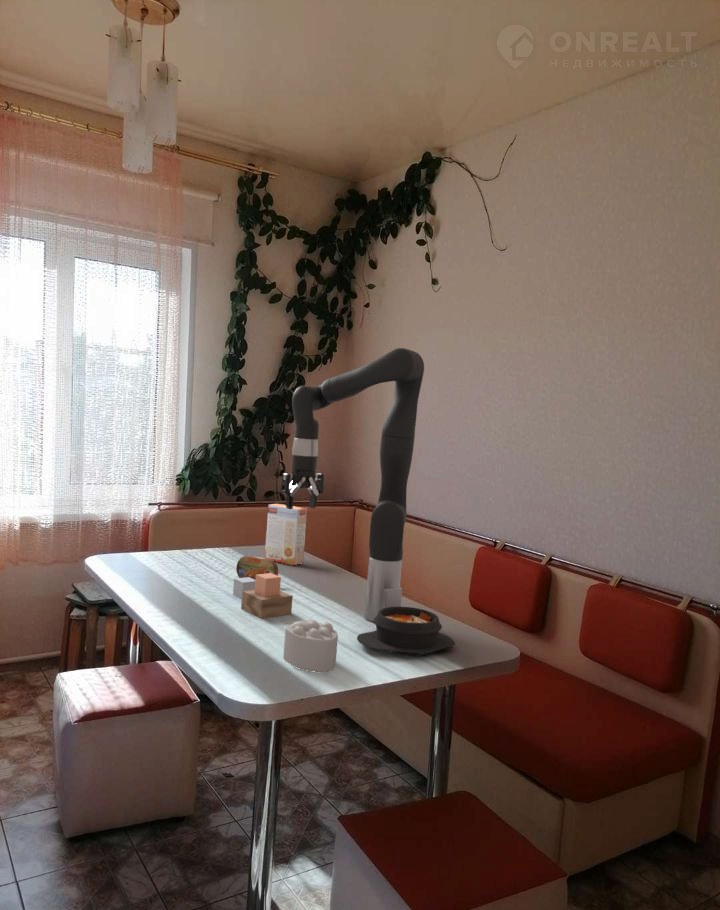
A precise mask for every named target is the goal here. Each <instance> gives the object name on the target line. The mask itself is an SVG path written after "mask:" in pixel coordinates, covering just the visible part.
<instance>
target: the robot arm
mask: <svg viewBox="0 0 720 910" xmlns="http://www.w3.org/2000/svg"><path fill="white" fill-rule="evenodd" d="M424 373H425V362H424V359H423V358H422V356H421V355H420V354H419V352H416V351H414V350H411V349H408V348H404V347H399V348H395V349H393V350H390V351H389V352H387V353H386V354H384V355H381V356H380V357H378V358H376V359H375V360H373V361H371V362H369V363H367V364H364V365H363V366H360V367H358V368H355V369H352V370H349V371H347V372H344V373H340V374H338V375H336V376H332V377H330V378H327V379H325V380H324V381H323V382H322V384H320V385H316V386H311V385H310V386H308V385H300V386H298V387H297V388H296V389H295V390H294V392H293V395H292V399H291V405H292V413H293V419H294V423H295V425H294V438H293V443H292V451H291V452H292V453H291V463H290V464H291V467H290V468H291V470H292V472H291V474H290V473H286V472H283V473H282V477H281V485H280V494H283V495H285V504H284V505H286V508H287V509H293V506H294V495H295V494H296V492H297V491H298V490H299V489H307V490H308V492H309V493H310V494H309V502H308V503H309V505H308V506H309V507H308V508H310V509H315V508H316V506H317V503H318V496H319V495H320V494H324V483H325V482H324V479H325V476H324V474H323V473H320V472H316V471H317V469H318V454H319V440H318V439H319V427H320V425H319V421H318V420H317V419H315V417H314V411H320V410H322V409H325V408H326V407H328V406H331V405H332V404H334V403H336V402H337V403H338V402H340V401H342V400H345V399H349V398H352V397H355V396H356V395H359V394H360V393H361V392H363V391H365V390H367V389H368V388H370V387H373V386H376V385H379V384H382V383H389V382H394V392H393V393H394V394H393V400H392V404H391V406H390V409H389V411H388V414H387V416H386V418H385V420H384V423H383V426H382V429H381V437H380V445H379V461H380V462H379V463H380V464H379V465H380V475H381V476H380V477H381V478H380V480H381V481H380V489H379V490H380V491H379V496H378V501H377V504H376V506H375V508H373V511H372V512H371V516H370V524H369V525H370V527H369V541H368V548H369V554H368V555H369V557H368V567H367V569H368V570H367V580H366V593H365V603H364V604H365V606H364V616H363V617H364V619H366V621H370V622H372V623H373V622H374V618H375V617H376V616H377V614H378V612H379V611H380V610H381V609H383V608H388V607H402V597H403V588H402V587H401V578H402V576H401V575H402V566H403V565H402V563H403V556H404V555H403V553H404V549H403V548H404V547H403V545H404V544H403V542H404V531H405V530H404V529H405V523H406V522H407V491H408V490H407V488H408V486H407V485H408V481H409V475H410V472H411V468H412V467H411V465H412V461H413V454H414V445H415V437H416V436H415V435H416V424H417V413H418V403H419V397H420V393H421V387H422V382H423V378H424Z"/></svg>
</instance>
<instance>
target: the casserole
mask: <svg viewBox="0 0 720 910" xmlns="http://www.w3.org/2000/svg"><path fill="white" fill-rule="evenodd" d="M374 624H375V627H376V628H375V630H372V631H367V632H362V633H359V634H358V635H357V636H356V640H357V641H358V642H359V644H361V645H362V646H364V647H366V648H368V649H371V650H373V651H380V652H392V653H396V654H401V655H406V654H407V656H413V655H414V656H416V655H417V654H418V655H424V654H423V653H425V654H430V653H435V652H438V651H441V650H442V649H446V648H453V647H454V646H455V645H456V642H455V640H454V639H453V638H451V637H450V636H449V635H447V634H445V633H442V632H440V631H441V630H442V629H443V626H442V624H441V622H440V618H439V617H438V615H437V614H436V613H433V612H431V611H429V610H425V609H422V608H416V607H409V606H401V607H388V608H383V609H381V610H380V611H379V612H378V614H377V616H376V617H375V618H374Z"/></svg>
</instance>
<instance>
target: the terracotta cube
mask: <svg viewBox="0 0 720 910" xmlns="http://www.w3.org/2000/svg"><path fill="white" fill-rule="evenodd" d="M281 579H282V577H281V576H280V575H278V576H277V575H275V574H272V573H266V574H257V575H256V578H255V593H257V594H259V595H262V596H264V597H267V596H274V595H280V591H281V581H282V580H281Z"/></svg>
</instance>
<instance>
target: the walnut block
mask: <svg viewBox="0 0 720 910" xmlns="http://www.w3.org/2000/svg"><path fill="white" fill-rule="evenodd" d="M293 597H294V596H293V595H291V594H289V593H286V592H284V591H282V590H280V595H274V596H267V597H264V596H262V595H259V594H257V593H255V590H247V591H242V599H241V607H240V608H241V610H242V611H244V612H246V613H249V614H251V615H254V616H255V617H258V618H259V619H265V618H266V619H268V618H272V617H278V616H285V615H291V614H292V608H293Z"/></svg>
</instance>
